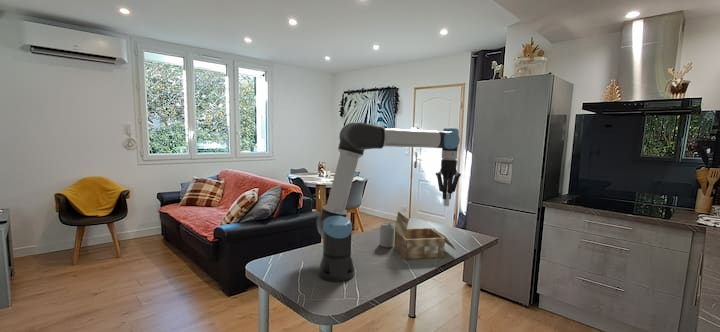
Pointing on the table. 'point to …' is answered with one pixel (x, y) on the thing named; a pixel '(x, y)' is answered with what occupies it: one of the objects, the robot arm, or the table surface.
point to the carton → (420, 244)
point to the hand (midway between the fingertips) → (446, 205)
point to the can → (387, 235)
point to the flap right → (445, 239)
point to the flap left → (401, 224)
